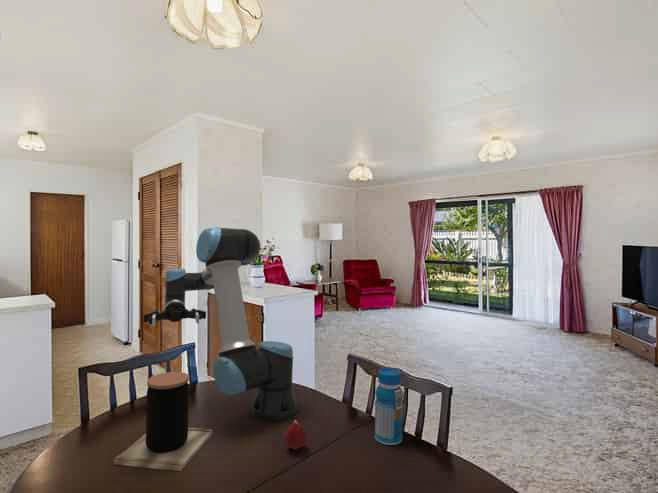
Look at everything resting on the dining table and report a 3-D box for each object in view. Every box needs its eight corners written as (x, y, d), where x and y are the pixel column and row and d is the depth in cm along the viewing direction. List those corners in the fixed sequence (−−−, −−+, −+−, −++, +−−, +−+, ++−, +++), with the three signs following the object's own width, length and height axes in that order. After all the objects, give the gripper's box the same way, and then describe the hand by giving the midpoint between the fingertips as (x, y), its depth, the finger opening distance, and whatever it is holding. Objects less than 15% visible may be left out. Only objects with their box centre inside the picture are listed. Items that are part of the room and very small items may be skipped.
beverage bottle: (376, 446, 103) (377, 376, 103) (372, 431, 111) (373, 366, 111) (405, 446, 103) (407, 376, 103) (399, 431, 111) (401, 366, 112)
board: (212, 434, 107) (212, 429, 107) (180, 471, 89) (181, 465, 89) (155, 429, 109) (156, 424, 109) (113, 464, 91) (114, 458, 91)
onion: (309, 446, 102) (309, 417, 102) (300, 457, 97) (301, 427, 97) (290, 442, 104) (291, 414, 104) (281, 452, 98) (282, 423, 99)
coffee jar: (194, 434, 104) (196, 372, 104) (175, 456, 94) (177, 386, 94) (159, 432, 105) (161, 370, 105) (136, 453, 95) (138, 384, 95)
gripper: (208, 318, 144) (215, 329, 125) (138, 322, 134) (133, 335, 115) (209, 299, 144) (215, 307, 125) (139, 302, 134) (133, 311, 115)
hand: (176, 320), depth 120 cm, fingers open, 13 cm apart
